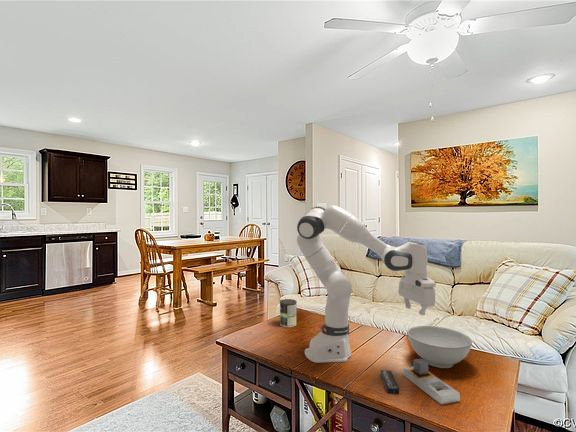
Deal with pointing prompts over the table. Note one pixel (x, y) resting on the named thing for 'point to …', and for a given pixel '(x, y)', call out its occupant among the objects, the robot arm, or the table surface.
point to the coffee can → (288, 312)
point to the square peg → (420, 367)
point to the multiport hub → (389, 382)
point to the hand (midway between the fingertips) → (414, 311)
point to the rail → (433, 386)
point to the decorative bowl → (439, 345)
